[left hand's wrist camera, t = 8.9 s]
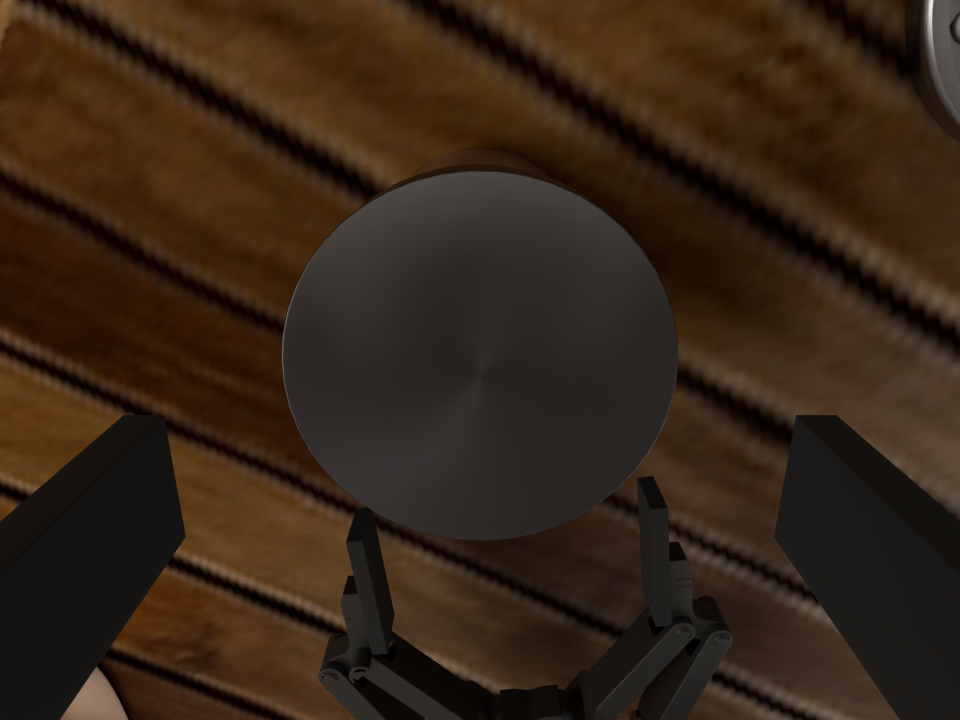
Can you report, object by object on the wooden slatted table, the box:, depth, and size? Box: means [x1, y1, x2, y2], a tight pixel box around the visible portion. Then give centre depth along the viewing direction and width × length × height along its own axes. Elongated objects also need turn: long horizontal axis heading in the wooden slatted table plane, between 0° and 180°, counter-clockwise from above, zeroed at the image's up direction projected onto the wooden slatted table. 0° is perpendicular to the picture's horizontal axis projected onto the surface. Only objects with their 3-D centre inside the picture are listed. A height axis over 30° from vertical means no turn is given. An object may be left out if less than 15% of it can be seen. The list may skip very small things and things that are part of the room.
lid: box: [282, 164, 678, 540], centre depth 19 cm, size 11×11×2 cm
